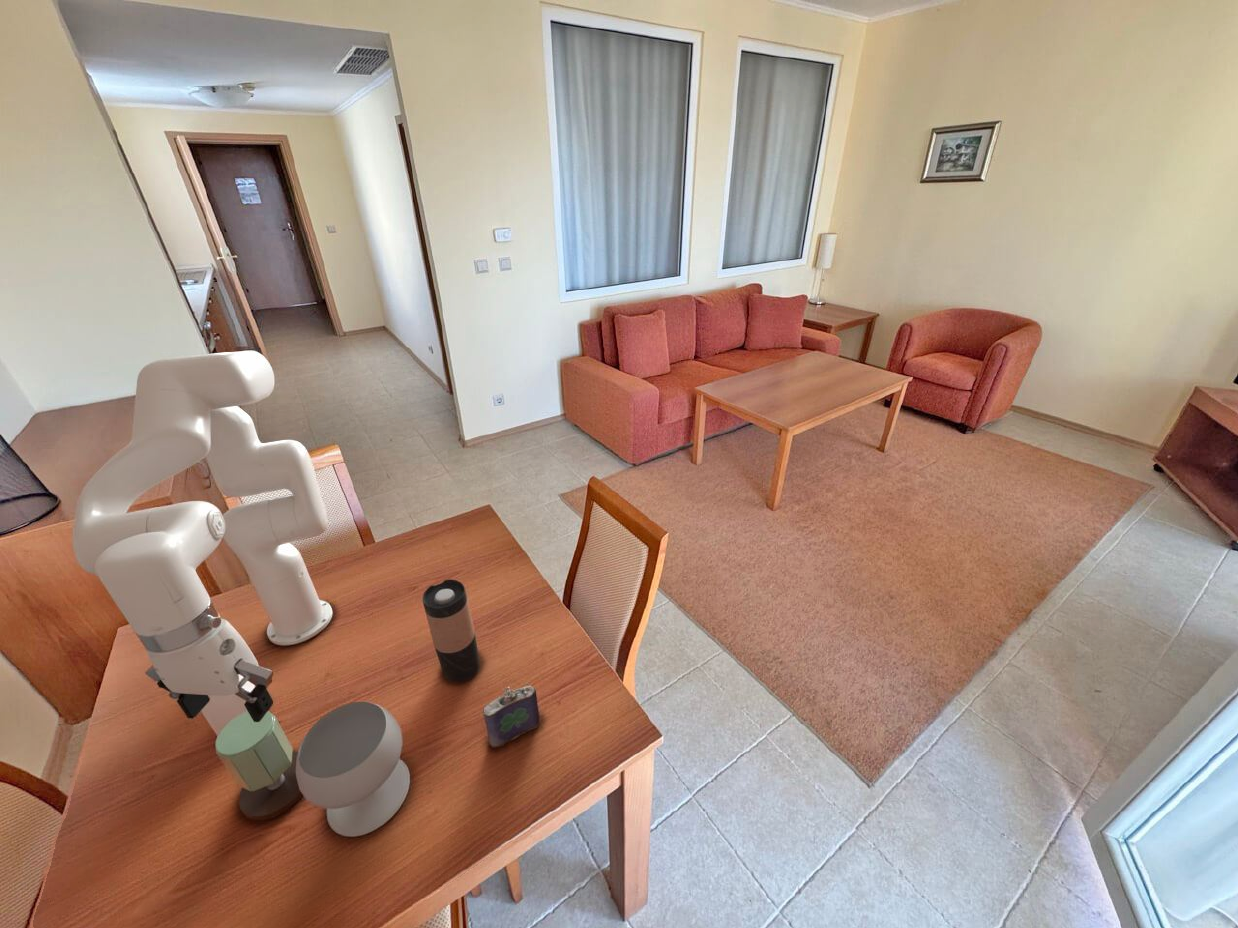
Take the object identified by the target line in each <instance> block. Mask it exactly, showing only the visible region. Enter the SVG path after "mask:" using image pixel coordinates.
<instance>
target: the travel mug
mask: <svg viewBox="0 0 1238 928" xmlns="http://www.w3.org/2000/svg"><path fill="white" fill-rule="evenodd" d="M422 604H423V607H424V611H425V615H426V619H427V623H428V628H429V631H430V635H431V638H432V642H433V643H432V644H433V646H434V649H435V652H436V655H437V658H438V662H439V665H440V667H441V671H442V674H443V676H444V678H445V679H446V680H447V681H448V682H451V683H463V682H467V681H468V680H470V679H471V678H473V677H474V676H475V675H476V674H477V672H478V671H479V669H480V655H479V650H478V644H477V643H478V642H477V637H476V632H475V627H474V622H473V619H472V614H471V609H470V605H469V601H468V596H467V592H466V588H465V586H464V584H463V583H462V582H461V581H459V580H456V579H444V580H443V581H442V582H441V583H438V584H432V585H430V586H429V587H427V588H426V590H425V591H424V592H423V594H422Z"/></svg>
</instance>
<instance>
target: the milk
mask: <svg viewBox="0 0 1238 928" xmlns="http://www.w3.org/2000/svg"><path fill="white" fill-rule="evenodd" d="M238 676H239V682H240V681H241V679H242V678H243V676H241V675H240V674H238ZM242 688H244V689H245V690H247V691H249V692H251V691H252V690H253V689H254V688H255V685H254V684H252V683H251V682H249V681H247V682H246V683H245V684H244V685H243V686H242ZM208 696H209V698H210V701H209V702H208V703H207V704H206V706H205V707H204V708H203V709H202V710H201V711H200V713H201V714H202V715H203V717H204V718H205V720H206V721H207V723H208V724H209V726H210V727H211V729H212V730H213V732H214V733H215V735H216V736H217V737H218V735H219V733H220V732H221V730H222V729H223V728H224V727H225V726H226V725H227V724H228V723H229V722H230V721H231V720H233V719H234V718H236V717H237V716H239V715H241V714H243V713H245V712H247V709H246V707H245V705H244V704H245V702H246V701H245V700H244V699H242V698H240V697H239V696H237V695H235V694H232V695H226V696H222V695H208Z"/></svg>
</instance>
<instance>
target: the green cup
mask: <svg viewBox="0 0 1238 928" xmlns="http://www.w3.org/2000/svg"><path fill="white" fill-rule="evenodd" d="M214 746H215V754H216V755H217V758H219V760H220V761H221V763H222V764H223V765H224V767H225V769H226V770H227V771H228V773H229V775H230V777H232V779H233V780H234V782H235V783H236V785H237V786H238V787H240V788H241V789H242V788H244V789H247V790H249V791H255V790H258V789H260V788H263V787H265V786H268V785H270V784H273V783H274V782H276V781H277V779H278V778H279V777H280V776H281V775H282V774H283V773H284V772H285V771H286V770H287V768H288V767H289V766H290V764H291V762H292V752H293V751H294V748H293V746H292V745H291V743H290V741H289V739H288V737H287V735H286V734H285V732H284V730H283V727H282V726H281V724H280V723H279V721H278V719H277V717H276V715H275V714H273V713H271V712H270V710H268V711H267V713H266V714H265V715H264V717H263V718H262V719H261V721H260V722H254V721H253V719H252V718H251V716H250V714H249V712H248V711H247V712H245V713H243V714H241V715H239V716H237V717H236V718H234V719H233V720H231V721H230V722H229V723H228V724H227V725H226V726H225V727H224V728H223V729H222V730H221V732H220V733H219V735H218V736H217V737H216V739H215V744H214Z"/></svg>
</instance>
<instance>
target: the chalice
mask: <svg viewBox="0 0 1238 928" xmlns="http://www.w3.org/2000/svg"><path fill="white" fill-rule="evenodd" d="M402 748H403V733H402V729H401V727H400V725H399V722H398V721H397V719H396V717H394V716H393V715H392V713H390V711H389V710H388V709H386V708H385V707H383V706H381V705H380V704H377V703H375V702H370V701H354V702H350V703H346V704H343V705H340V706H338V707H336V708H334V709H332V710H331V711H329V712H327V713H326V714H325V715H324V716H322V717H321V718H319V719H318V720H317V721H316V722H315V723H314V724H313V725H312V726H311V727H310V729H309V730H308V731H307V733H306V734H305V736H304V738H303V739H302V741H301V743H300V745H299V748H298V751H297V752H298V755H297V760H296V777H297V782H298V786H299V789H300V791H301V793H302V794H303V796H302V797H303V798H304V799H305V800H306V801H307V802H309V803H310V804H312V805H313V806H316V807H318V808H322V809H326V812H325V813H326V819H327V823H328V825H329V827H330V829H331V830H332V831H334V832H335V833H336V834H339V835H341V836H343V837H352V838H353V837H358V836H364V835H366V834H368V833H371V832H374V831H375V830H377V829H379V828H380V827H382V826H383V825H385V824H386V823H387V822H388V821H389V820H390V819H391V818H393V816H394V815H395V814H396V813H397V812H398V811H399V810H400V808H401V806H402V805H403V803H404V801H405V800H406V797H407V795H408V793H409V788H410V783H411V775H410V770H409V767H408V766H407V764H406V763H405V761H404V760H402V759H401V755H402V754H401V753H402Z"/></svg>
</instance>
